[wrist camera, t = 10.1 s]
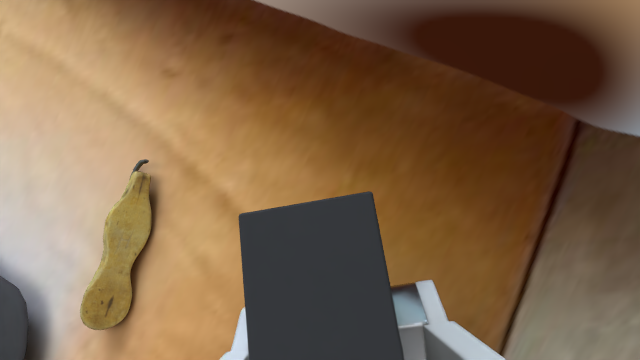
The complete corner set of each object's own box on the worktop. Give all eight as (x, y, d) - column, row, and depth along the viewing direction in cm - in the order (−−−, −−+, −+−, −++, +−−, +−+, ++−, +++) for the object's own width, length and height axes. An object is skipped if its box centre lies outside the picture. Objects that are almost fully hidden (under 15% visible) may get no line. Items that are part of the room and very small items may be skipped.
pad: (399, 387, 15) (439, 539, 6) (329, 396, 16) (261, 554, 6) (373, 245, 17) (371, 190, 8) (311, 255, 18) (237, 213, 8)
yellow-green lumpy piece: (158, 168, 34) (169, 164, 31) (114, 322, 30) (123, 331, 28) (118, 157, 32) (127, 152, 29) (67, 321, 28) (73, 329, 26)
